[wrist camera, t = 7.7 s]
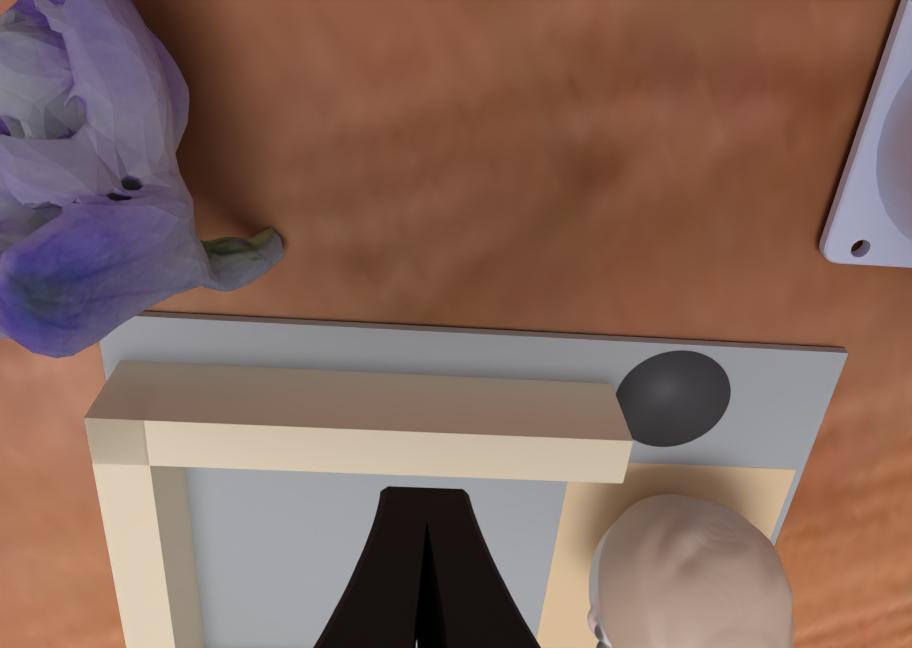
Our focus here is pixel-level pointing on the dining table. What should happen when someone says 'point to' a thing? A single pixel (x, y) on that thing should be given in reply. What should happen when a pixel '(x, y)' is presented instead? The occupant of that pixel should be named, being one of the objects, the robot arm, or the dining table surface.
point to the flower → (97, 178)
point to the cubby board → (414, 457)
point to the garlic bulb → (688, 580)
